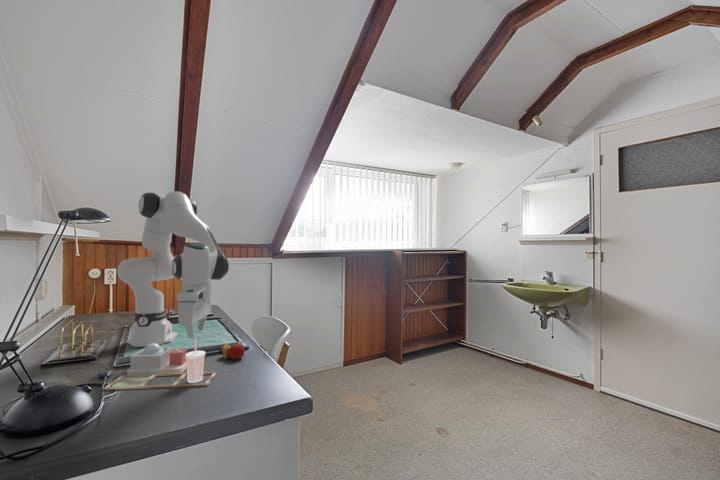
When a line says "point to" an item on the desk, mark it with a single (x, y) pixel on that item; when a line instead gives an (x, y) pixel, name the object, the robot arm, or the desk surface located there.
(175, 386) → the wooden window frame
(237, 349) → the kendama
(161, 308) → the robot arm
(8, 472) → the desk surface
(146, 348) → the dome
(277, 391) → the desk surface
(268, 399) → the desk surface
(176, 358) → the dome housing
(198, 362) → the beverage cup
